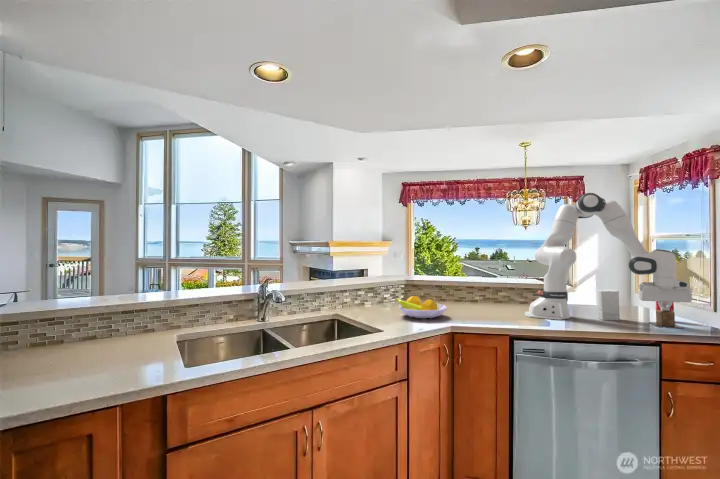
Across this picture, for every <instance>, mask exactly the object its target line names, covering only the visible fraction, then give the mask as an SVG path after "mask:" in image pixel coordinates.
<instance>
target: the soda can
mask: <svg viewBox="0 0 720 479" xmlns="http://www.w3.org/2000/svg"><path fill="white" fill-rule="evenodd" d="M674 304H675V302H672V305H671V307H670V311H672V312H674V313H675V309H674V308H675V305H674ZM662 305H663V307H666V306H667V305H668V304H667V302H663V304H662ZM656 310H661V307H660V306H659V304H658V301H655V311H656Z"/></svg>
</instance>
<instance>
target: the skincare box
mask: <svg viewBox="0 0 720 479" xmlns="http://www.w3.org/2000/svg"><path fill="white" fill-rule="evenodd" d="M596 291H597V292H596V293H597V295H596V296H597V297H596V298H597V318H598V319H600V320H601V321H617V322H618V321H619V322H620V320H621V319H620V292H619V290H616V289H596Z"/></svg>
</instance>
